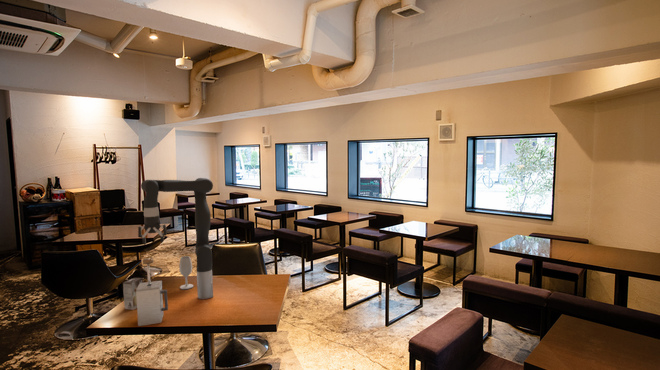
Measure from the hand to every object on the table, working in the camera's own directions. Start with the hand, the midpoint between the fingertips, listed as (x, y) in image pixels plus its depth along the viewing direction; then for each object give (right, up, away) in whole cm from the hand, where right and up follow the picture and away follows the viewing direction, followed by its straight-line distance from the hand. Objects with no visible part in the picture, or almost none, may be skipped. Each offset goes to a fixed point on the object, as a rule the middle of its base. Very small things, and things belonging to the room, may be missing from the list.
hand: (153, 243), depth 200 cm
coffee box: (-17, -40, +11) cm, 45 cm away
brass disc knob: (+2, -27, -8) cm, 28 cm away
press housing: (+4, -40, -7) cm, 41 cm away
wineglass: (+2, -37, +41) cm, 56 cm away
